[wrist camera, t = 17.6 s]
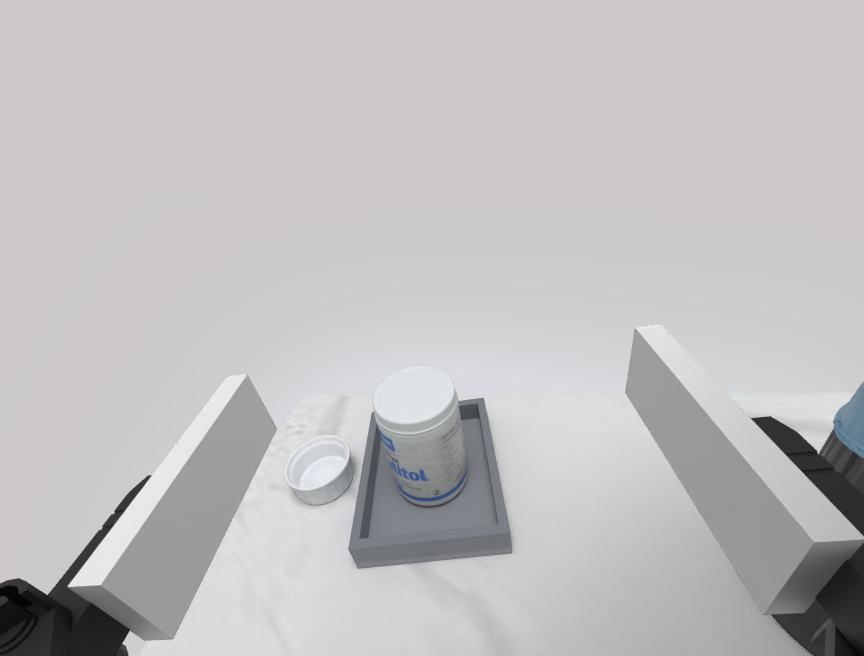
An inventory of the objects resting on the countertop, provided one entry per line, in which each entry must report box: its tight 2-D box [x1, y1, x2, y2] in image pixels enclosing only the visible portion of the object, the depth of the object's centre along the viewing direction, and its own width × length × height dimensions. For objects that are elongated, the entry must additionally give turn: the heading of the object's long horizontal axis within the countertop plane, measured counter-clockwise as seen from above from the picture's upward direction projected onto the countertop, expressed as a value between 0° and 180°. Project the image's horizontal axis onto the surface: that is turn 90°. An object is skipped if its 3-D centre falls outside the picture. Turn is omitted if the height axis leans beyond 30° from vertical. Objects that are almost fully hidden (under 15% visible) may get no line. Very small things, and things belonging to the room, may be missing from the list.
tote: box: [348, 398, 512, 568], centre depth 48 cm, size 17×20×4 cm
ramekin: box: [284, 435, 354, 505], centre depth 51 cm, size 9×9×4 cm
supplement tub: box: [373, 367, 468, 506], centre depth 44 cm, size 10×10×15 cm
